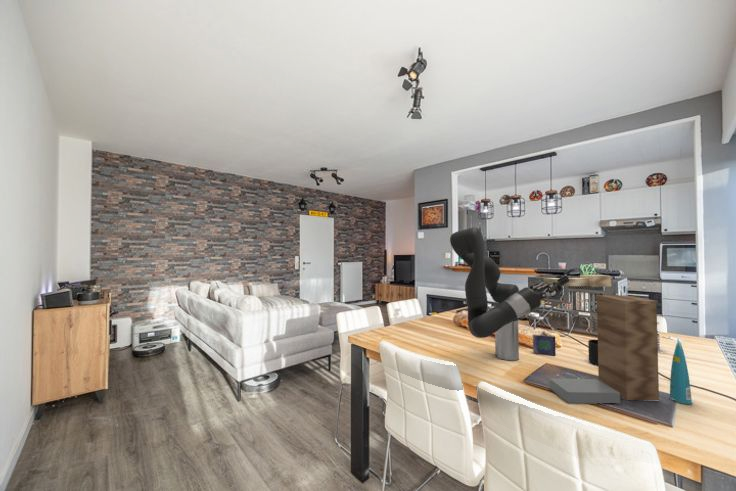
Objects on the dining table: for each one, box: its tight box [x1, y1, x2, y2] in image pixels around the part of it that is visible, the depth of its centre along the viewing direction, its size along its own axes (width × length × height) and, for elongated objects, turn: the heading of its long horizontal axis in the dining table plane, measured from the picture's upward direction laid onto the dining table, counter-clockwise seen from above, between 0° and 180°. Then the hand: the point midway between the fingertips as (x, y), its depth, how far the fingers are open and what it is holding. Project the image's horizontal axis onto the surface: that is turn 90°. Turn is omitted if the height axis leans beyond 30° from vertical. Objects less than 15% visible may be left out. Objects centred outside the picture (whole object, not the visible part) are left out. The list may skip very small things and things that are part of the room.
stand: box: [594, 294, 660, 401], centre depth 100 cm, size 11×13×32 cm
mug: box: [587, 339, 598, 367], centre depth 126 cm, size 9×12×9 cm
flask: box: [532, 330, 557, 357], centre depth 138 cm, size 9×3×11 cm, turn 71°
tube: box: [669, 337, 693, 405], centre depth 94 cm, size 7×5×19 cm, turn 140°
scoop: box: [542, 274, 612, 288], centre depth 101 cm, size 20×6×4 cm, turn 89°
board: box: [549, 378, 621, 405], centre depth 97 cm, size 16×10×4 cm, turn 88°
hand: (564, 277), depth 101 cm, fingers closed on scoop, 2 cm apart
